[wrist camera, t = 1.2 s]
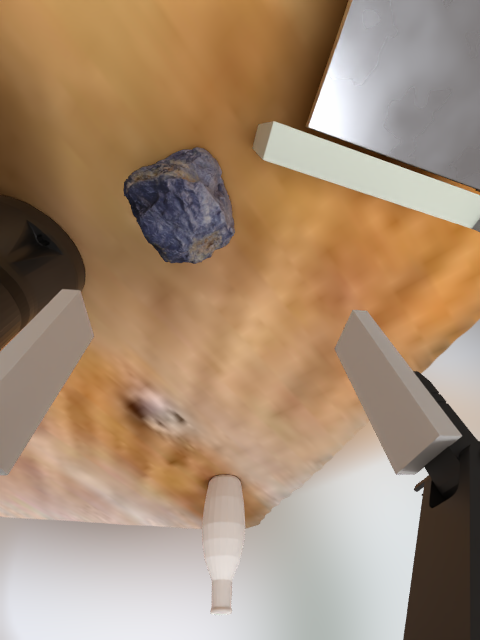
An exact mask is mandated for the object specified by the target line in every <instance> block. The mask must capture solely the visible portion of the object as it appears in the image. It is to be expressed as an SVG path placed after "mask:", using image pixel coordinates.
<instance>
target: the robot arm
mask: <svg viewBox="0 0 480 640" xmlns="http://www.w3.org/2000/svg"><path fill="white" fill-rule="evenodd" d="M84 282H85V270H84V265H83V262H82V259H81V256H80V254H79V252H78V250H77V248H76V247H75V245H74V243H73V242H72V241H71V239H70V238H69V237H68V235H67V234H66V233H65V232H64V231H63V230H62V229H61V228H60V227H59V226H58V225H57V224H56V223H55V222H54V221H53V220H51V219H50V218H49V217H48V216H46V215H45V214H43V213H42V212H40V211H39V210H37V209H36V208H34V207H32V206H30V205H28V204H26V203H24V202H22V201H19V200H17V199H14V198H11V197H8V196H4V195H0V350H1V349H2V348H3V347H4V346H5V345H6V344H7V343H8V342H9V341H10V340H11V339H12V338H13V337H14V336H15V335H16V334H17V333H18V332H19V333H18V334H17V335H16V336H15V337H14V338H13V339H12V340H11V341H10V342H9V343H8V344H7V345H6V346H5V347H4V348H3V349H2V350H1V351H0V475H8V474H9V472H10V471H11V469H12V468H13V466H14V464H15V463H16V461H17V460H18V458H19V456H20V455H21V453H22V451H23V450H24V448H25V447H26V445H27V443H28V442H29V440H30V439H31V437H32V435H33V434H34V432H35V431H36V429H37V427H38V426H39V424H40V422H41V421H42V419H43V418H44V416H45V414H46V413H47V411H48V410H49V408H50V406H51V405H52V403H53V402H54V400H55V398H56V397H57V395H58V393H59V392H60V390H61V389H62V387H63V385H64V384H65V382H66V381H67V379H68V377H69V376H70V374H71V373H72V371H73V369H74V368H75V366H76V364H77V363H78V361H79V360H80V358H81V356H82V355H83V353H84V352H85V350H86V348H87V347H88V345H89V344H90V342H91V340H92V339H93V337H94V334H93V331H92V327H91V324H90V321H89V317H88V314H87V311H86V307H85V304H84V301H83V297H82V294H81V291H82V289H83V286H84ZM335 351H336V353H337V355H338V357H339V359H340V361H341V363H342V365H343V367H344V369H345V371H346V374H347V376H348V378H349V380H350V382H351V384H352V386H353V388H354V390H355V392H356V394H357V396H358V398H359V400H360V402H361V404H362V406H363V408H364V410H365V412H366V414H367V416H368V418H369V420H370V422H371V424H372V427H373V429H374V431H375V433H376V435H377V437H378V438H379V441H380V443H381V445H382V447H383V449H384V451H385V453H386V455H387V457H388V459H389V461H390V463H391V465H392V467H393V469H394V471H395V473H396V475H397V474H398V475H399V474H416V473H418V472H419V471H420V470H421V469H422V468H424V467H425V469H426V470H427V472H428V474H429V476H427V477H426V478H425V479H424V480H422V481H421V482H420V483H418V484H417V485H416V486H415V488H414V490H415V491H416V492H417V491H419V490H420V489H421V488H423V487H424V491H423V494H422V496H423V499H422V506H421V513H420V521H419V528H418V536H417V543H416V550H415V558H414V565H413V573H412V580H411V587H410V594H409V602H408V609H407V617H406V624H405V631H404V639H403V640H480V441H478V440H477V439H476V438H475V437H474V436H473V434H472V433H471V432H470V431H469V430H468V428H467V427H466V426H465V424H464V423H463V422H462V421H461V419H460V418H459V417H458V416H457V415H456V413H455V412H454V411H453V410H452V408H451V407H450V406H449V404H446V401H445V400H444V398H443V397H442V396H441V395H440V394H438V393H439V392H438V391H437V389H436V388H435V387H434V386H433V384H432V383H431V382H430V381H429V380H427V379H426V378H425V377H424V376H423V375H422V374H420V373H419V372H417V371H412V369H411V368H410V367H409V365H408V364H407V363H406V361H405V360H404V359H403V358H402V356H401V355H400V354H399V352H398V351H397V350H396V348H395V347H394V346H393V344H392V343H391V342H390V341H389V339H388V338H387V337H386V335H385V334H384V333H383V331H382V330H381V329H380V327H379V326H378V325H377V324H376V322H375V321H374V320H373V318H372V317H371V316H370V314H369V313H368V312H367V311H361V310H352V312H351V315H350V317H349V319H348V321H347V323H346V325H345V328H344V330H343V332H342V334H341V336H340V338H339V340H338V343H337V345H336V347H335Z"/></svg>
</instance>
